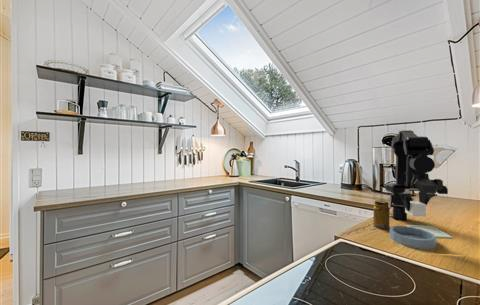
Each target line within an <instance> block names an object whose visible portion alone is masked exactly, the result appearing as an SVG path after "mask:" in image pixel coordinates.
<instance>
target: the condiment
mask: <svg viewBox="0 0 480 305" xmlns="http://www.w3.org/2000/svg"><path fill="white" fill-rule="evenodd" d="M390 210H391V209H390V206H389V201H386V200H374V206H373V218H372V220H373V221H372V224H373V226H371V227H370V229H372V230H377V229H379V230H390V217H389V216H391V215H390Z"/></svg>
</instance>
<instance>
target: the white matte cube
mask: <svg viewBox="0 0 480 305" xmlns="http://www.w3.org/2000/svg"><path fill="white" fill-rule="evenodd" d="M405 213H407V215H410V216H411V217H427V205H426V204H424V203H421V202H419V200H417V201H416V200H413V201H410V211H407V210H406V208H405Z"/></svg>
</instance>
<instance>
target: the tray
mask: <svg viewBox="0 0 480 305" xmlns="http://www.w3.org/2000/svg"><path fill="white" fill-rule="evenodd" d="M405 226H407V227H414V228H418V229H422V230H425V231H428V232H430V233H432V234H434V235H435V236H436V238H438V239H439V238H441V239H453V236H451V235H449V234H448V233H446V232H444V231H442V230H440V229H438V228H436V227H434V226H433V225H420V224H419V225H413V224H411V225H410V224H406V225H405Z"/></svg>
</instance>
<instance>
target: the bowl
mask: <svg viewBox="0 0 480 305" xmlns="http://www.w3.org/2000/svg"><path fill="white" fill-rule="evenodd" d="M389 239H391V240H392V241H393V242H394V243H396V244H398V245H402V246H405V247H409V248H416V249H421V250H430V249H435V248H436V247H437V238H436V236H435V235H434V234H432V233H430V232H428V231H425V230H422V229H418V228H414V227H407V226H406V225H395V226H391V227H389Z"/></svg>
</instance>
